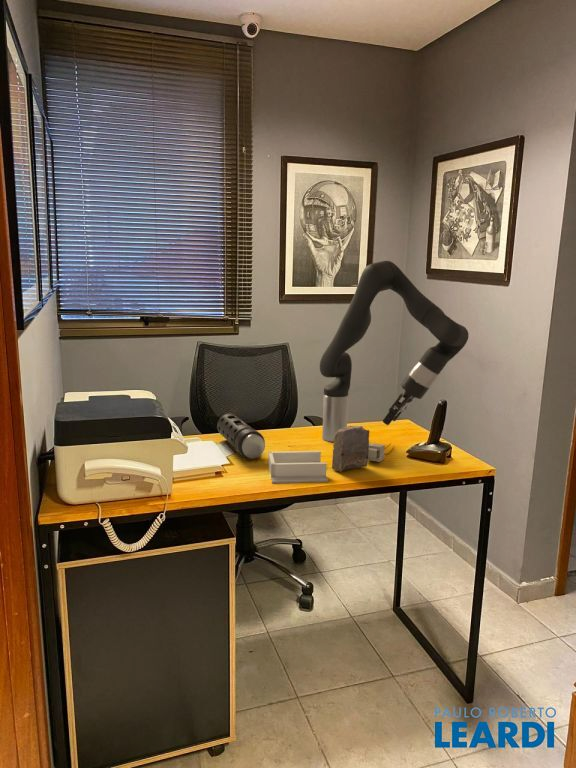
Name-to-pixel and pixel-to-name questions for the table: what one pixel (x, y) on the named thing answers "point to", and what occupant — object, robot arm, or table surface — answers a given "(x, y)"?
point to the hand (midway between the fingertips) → (388, 421)
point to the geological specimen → (350, 448)
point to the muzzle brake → (241, 436)
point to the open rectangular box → (296, 467)
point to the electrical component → (377, 452)
